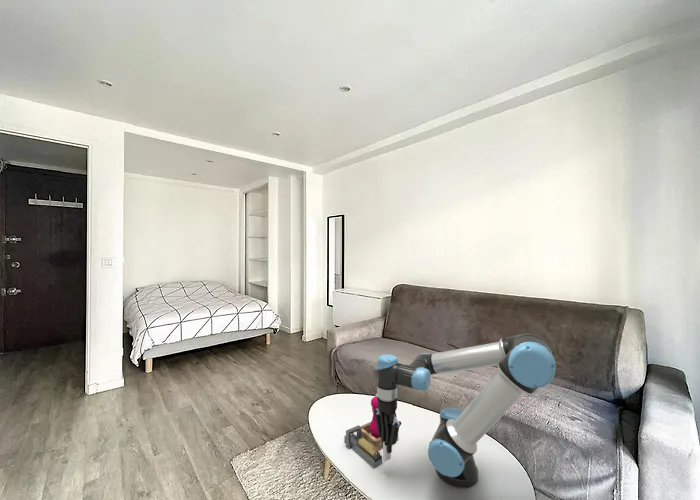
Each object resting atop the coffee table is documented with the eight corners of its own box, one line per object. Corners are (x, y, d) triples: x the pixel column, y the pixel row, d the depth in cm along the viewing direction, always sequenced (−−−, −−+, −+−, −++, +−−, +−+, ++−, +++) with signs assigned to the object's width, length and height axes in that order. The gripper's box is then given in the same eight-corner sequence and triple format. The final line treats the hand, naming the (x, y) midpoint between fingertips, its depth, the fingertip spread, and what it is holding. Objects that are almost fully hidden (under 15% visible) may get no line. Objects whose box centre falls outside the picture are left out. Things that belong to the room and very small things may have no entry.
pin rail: (384, 462, 122) (384, 444, 122) (371, 469, 118) (371, 451, 118) (354, 437, 138) (354, 422, 138) (342, 443, 134) (341, 427, 134)
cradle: (398, 440, 136) (398, 431, 136) (376, 451, 129) (376, 441, 129) (378, 426, 147) (378, 418, 147) (357, 436, 139) (357, 427, 139)
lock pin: (380, 458, 121) (380, 450, 121) (375, 461, 119) (374, 453, 119) (363, 444, 130) (363, 437, 130) (358, 447, 128) (358, 439, 128)
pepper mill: (372, 444, 133) (372, 398, 133) (367, 435, 140) (367, 391, 140) (388, 441, 135) (388, 396, 135) (382, 432, 142) (381, 389, 142)
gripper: (406, 401, 113) (406, 465, 113) (382, 388, 123) (382, 446, 123) (391, 407, 108) (391, 473, 108) (368, 393, 119) (368, 453, 119)
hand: (386, 459), depth 116 cm, fingers closed
